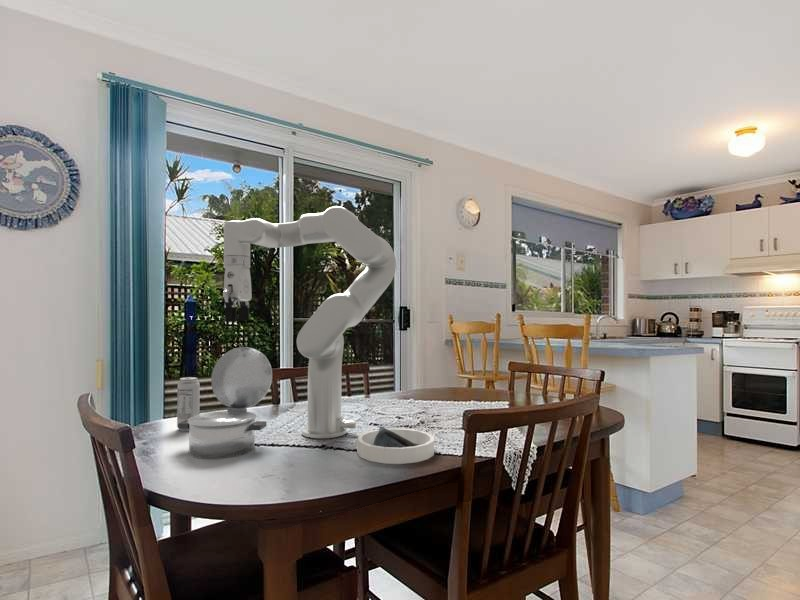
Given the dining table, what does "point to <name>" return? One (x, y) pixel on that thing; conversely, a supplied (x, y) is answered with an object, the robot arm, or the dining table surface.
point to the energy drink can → (187, 399)
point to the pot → (221, 434)
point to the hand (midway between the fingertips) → (237, 320)
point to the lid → (241, 378)
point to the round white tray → (394, 453)
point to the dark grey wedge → (391, 439)
